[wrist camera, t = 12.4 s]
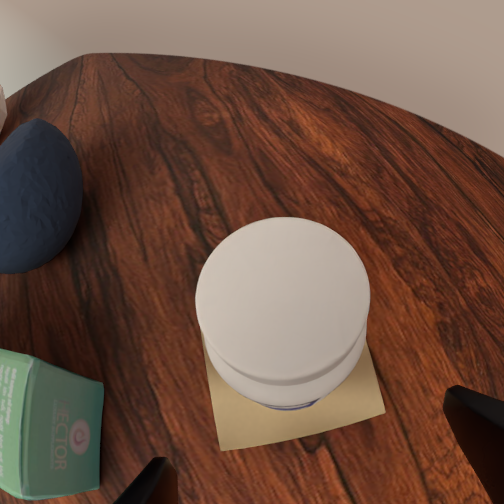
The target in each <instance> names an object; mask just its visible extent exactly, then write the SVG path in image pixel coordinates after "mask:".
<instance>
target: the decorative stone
mask: <svg viewBox="0 0 504 504" xmlns="http://www.w3.org/2000/svg"><path fill="white" fill-rule="evenodd" d="M82 198H83V182H82V172H81V169H80V165H79V161H78V158H77V155H76V153H75V151H74V149H73V147H72V145H71V144H70V142H69V140H68V139H67V138H66V137H65V135H64V134H63V133H62V132H61V131H60V130H59V129H58V128H57V127H55V126H54V125H52V124H50V123H48V122H47V121H45V120H42V119H38V118H37V119H33V120H31V121H29V122H26V123H23V124H21V125H20V126H19V127H17V128H16V129H15V130H14V131H13V132H12V133H11V134H10V136H8V137H7V138H6V140H5V141H4V142H3V143H2V145H1V146H0V273H4V274H15V273H25V272H28V271H30V270H33V269H35V268H38V267H40V266H42V265H44V264H45V263H47V262H49V261H50V260H52V259H53V258H54V257H55V256H56V255H57V254H58V253H59V252H60V251H61V250H62V249H63V248H64V247H65V246H66V244H67V242H68V241H69V240H70V238H71V236H72V234H73V233H74V230H75V227H76V225H77V222H78V220H79V217H80V214H81V206H82Z"/></svg>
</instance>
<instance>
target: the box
mask: <svg viewBox="0 0 504 504" xmlns="http://www.w3.org/2000/svg"><path fill="white" fill-rule="evenodd" d="M103 401H104V386H103V383H102V382H99V381H96V380H93V379H90V378H87V377H85V376H82V375H79V374H76V373H74V372H71V371H68V370H66V369H63V368H61V367H58V366H56V365H53V364H51V363H48V362H46V361H43V360H41V359H38V358H36V357H33V356H30V355H26V354H21V353H17V352H13V351H9V350H5V349H1V348H0V488H1V489H3V490H4V491H6V492H8V493H9V494H11V495H13V496H14V497H16V498H19V499H26V500H44V499H51V498H57V497H63V496H68V495H73V494H77V493H81V492H86V491H91V490H97V489H99V488H100V481H99V463H100V435H101V420H102V409H103Z"/></svg>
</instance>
